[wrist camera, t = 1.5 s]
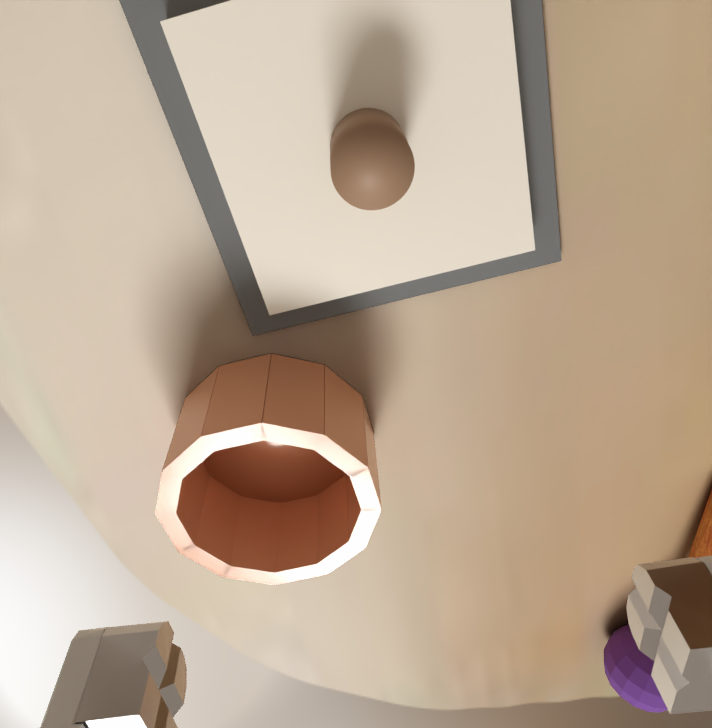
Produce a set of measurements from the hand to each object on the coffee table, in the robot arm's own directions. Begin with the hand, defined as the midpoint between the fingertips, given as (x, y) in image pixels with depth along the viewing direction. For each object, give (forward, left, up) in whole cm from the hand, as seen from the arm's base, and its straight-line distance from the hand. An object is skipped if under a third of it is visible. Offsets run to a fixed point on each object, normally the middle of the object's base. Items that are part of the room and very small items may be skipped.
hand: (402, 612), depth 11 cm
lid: (-1, -3, -21) cm, 22 cm away
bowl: (+8, +12, -22) cm, 26 cm away
